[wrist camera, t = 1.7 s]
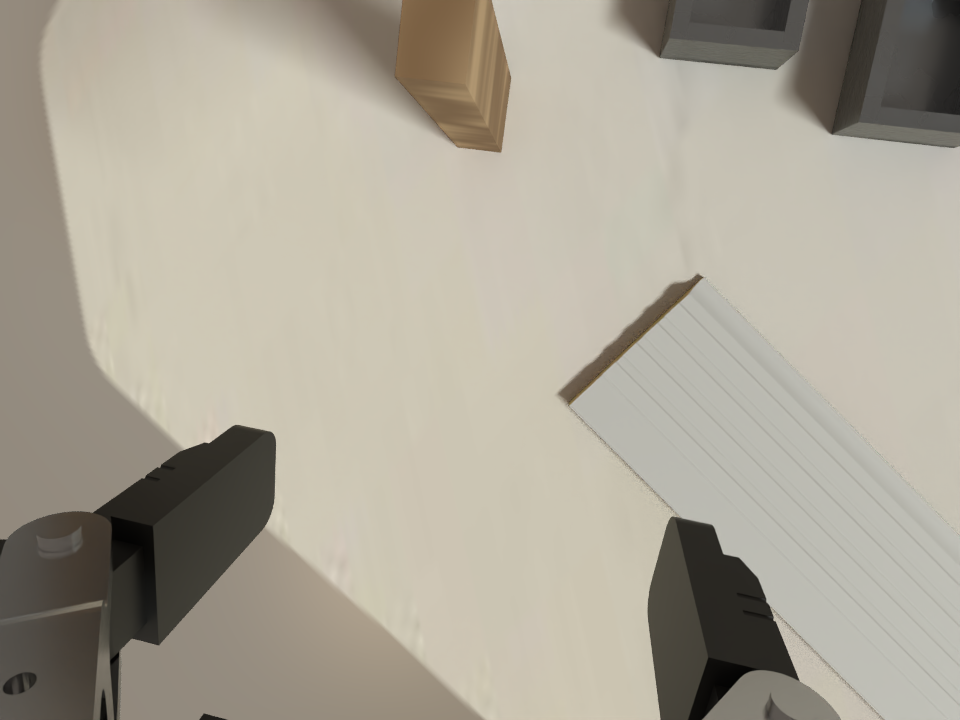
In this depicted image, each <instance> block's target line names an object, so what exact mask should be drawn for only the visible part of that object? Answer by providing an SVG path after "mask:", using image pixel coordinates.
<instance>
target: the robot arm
mask: <svg viewBox="0 0 960 720" xmlns="http://www.w3.org/2000/svg"><path fill="white" fill-rule="evenodd" d="M275 460H276V439H275V436H274V434H273V433H272V432H269V431H265V430H260V429H255V428H250V427H245V426H241V425H234V426H232V427H231V428H230V429H228V430H227V431H225V432H224V433H223V434H221V435H220V436H219V437H217V438H216V439H215V440H213V441H212V442H211V443H202V444H200V445H197V446H194V447H191V448H189V449H186V450H183V451H180V452H179V453H177V454H176V455H174V456H173V457H172V458H170V459H169V460H167V461H166V462H164V463H163V464H162V465H161V467H160V468H158V467H157V468H156V469H154V470H153V471H152V472H150V473H149V474H147V475H146V477H145V479H141V480H139V481H138V482H136V483H134V484H133V485H132V486H130V487H129V488H127V489H126V490H125V491H123V492H122V493H120V494H119V495H118V496H116V497H115V498H113V499H112V500H110V501H109V502H108V503H106V504H105V505H103V506H102V507H100V508H99V509H97V510H96V511H95V512H93V513H90V512H82V511H80V512H79V511H77V512H76V511H72V512H63V513H57V514H52V515H48V516H45V517H42V518H39V519H36V520H34V521H31V522H30V523H27V524H25V525H23V526H22V527H20V528H19V529H17V530H16V531H15V532H13V533H12V534H11V535H10V536H9V537H8V539H7V540H0V720H120V700H121V667H122V661H121V649H122V648H123V647H124V646H125V645H126V643H128V642H129V641H130V639H136V640H141V641H144V642H148V643H152V644H156V645H160V643H161V642H162V641H163V640H164V639H165V638H166V637H167V636H168V635H169V633H170V632H171V631H172V630H173V629H174V628H175V627H176V626H177V624H178V623H179V622H180V621H181V620H182V619H183V618H184V617H185V616H186V614H187V613H188V612H189V611H190V610H191V609H192V608H193V607H194V605H195V604H196V603H197V602H198V601H199V600H200V599H201V598H202V596H203V595H204V594H205V593H206V592H207V591H208V590H209V589H210V588H211V586H212V585H213V584H214V583H215V582H216V581H217V580H218V579H219V578H220V576H221V575H222V574H223V573H224V572H225V571H226V570H227V569H228V567H229V566H230V565H231V564H232V563H233V562H234V561H235V560H236V559H237V557H238V556H239V555H240V554H241V553H242V552H243V551H244V550H245V548H246V547H247V546H248V545H249V544H250V543H251V542H252V541H253V540H254V539H255V537H256V536H257V535H258V534H259V533H260V532H261V531H262V529H263V528H264V527H265V525H266V524H267V522H268V520H269V518H270V515H271V512H272V509H273V505H274V496H275ZM766 600H767V599H766V597H765V594H764V592H763V589H762V587H761V584H760V582H759V579H758V577H757V576H756V575H755V574H754V573H753V572H752V571H751V570H750V569H749V568H748V567H747V566H746V564H745V563H744V562H743V561H742V560H741V559H740V558H739V557H734V556H730V555H725V554H723V552H722V549H721V546H720V543H719V540H718V537H717V534H716V531H715V528H714V526H713V525H711V524H707V523H702V522H697V521H692V520H688V519H683V518H678V517H671V518H670V520H669V522H668V524H667V527H666V531H665V534H664V538H663V541H662V545H661V549H660V552H659V556H658V560H657V563H656V567H655V571H654V574H653V578H652V582H651V586H650V591H649V598H648V623H649V631H650V638H651V646H652V654H653V662H654V670H655V678H656V686H657V694H658V702H659V710H660V718H661V720H841V719H840V717H839V715H838V714H837V713H836V711H835V710H834V709H833V708H832V706H831V705H830V704H829V703H828V702H827V701H826V700H825V699H824V698H822V697H821V696H820V695H819V694H818V693H817V692H815V691H814V690H812V689H811V688H810V687H808V686H806V685H805V684H803V683H801V682H800V681H799V678H798V676H797V673H796V671H795V668H794V666H793V663H792V661H791V658H790V656H789V654H788V651H787V649H786V646H785V644H784V641H783V639H782V636H781V634H780V631H779V629H778V626H777V624H776V622H775V621H773V618H774V616H773V614H772V611H771V609H770V606H769V604H768V603H766ZM200 720H226V719H222V718H219V717H215V716H211V715H208V714H203V716H202V717H201V718H200Z"/></svg>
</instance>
